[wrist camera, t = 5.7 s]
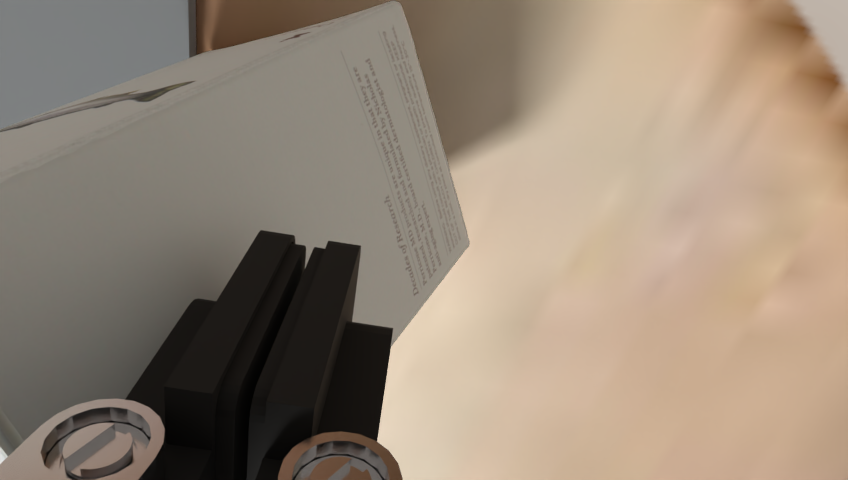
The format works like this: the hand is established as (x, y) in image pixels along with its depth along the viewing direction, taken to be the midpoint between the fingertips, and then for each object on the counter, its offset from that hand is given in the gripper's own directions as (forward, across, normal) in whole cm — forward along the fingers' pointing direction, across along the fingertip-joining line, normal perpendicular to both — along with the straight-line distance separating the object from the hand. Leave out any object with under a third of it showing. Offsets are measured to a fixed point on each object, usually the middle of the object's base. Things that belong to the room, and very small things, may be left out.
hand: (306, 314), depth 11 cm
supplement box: (+10, +1, 0) cm, 10 cm away
